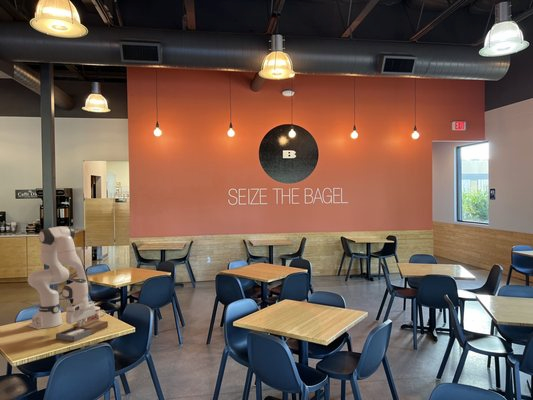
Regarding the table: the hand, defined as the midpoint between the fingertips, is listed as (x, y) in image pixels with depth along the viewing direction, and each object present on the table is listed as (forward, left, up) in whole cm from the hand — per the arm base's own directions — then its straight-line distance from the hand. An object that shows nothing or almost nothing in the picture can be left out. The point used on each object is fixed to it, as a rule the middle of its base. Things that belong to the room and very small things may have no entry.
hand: (81, 326), depth 239 cm
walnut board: (0, +8, -5) cm, 9 cm away
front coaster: (0, -8, -2) cm, 8 cm away
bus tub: (0, -6, -5) cm, 8 cm away
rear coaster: (0, -2, -4) cm, 5 cm away
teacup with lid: (-12, +23, -5) cm, 26 cm away
